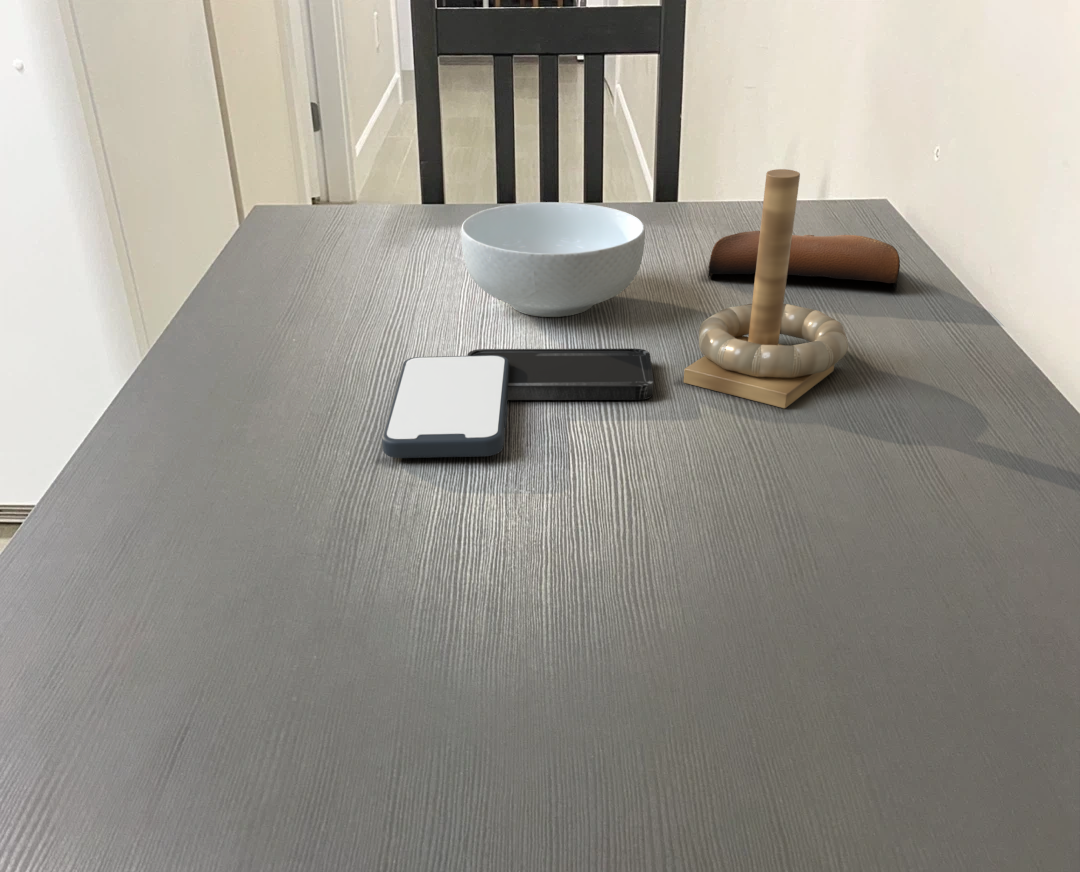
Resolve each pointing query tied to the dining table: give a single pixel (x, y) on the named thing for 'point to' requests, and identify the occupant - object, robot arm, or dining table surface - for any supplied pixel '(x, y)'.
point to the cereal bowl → (552, 255)
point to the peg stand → (765, 303)
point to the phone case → (448, 407)
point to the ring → (773, 359)
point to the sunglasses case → (812, 257)
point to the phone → (576, 373)
